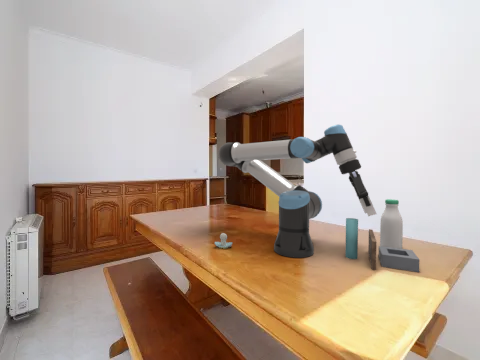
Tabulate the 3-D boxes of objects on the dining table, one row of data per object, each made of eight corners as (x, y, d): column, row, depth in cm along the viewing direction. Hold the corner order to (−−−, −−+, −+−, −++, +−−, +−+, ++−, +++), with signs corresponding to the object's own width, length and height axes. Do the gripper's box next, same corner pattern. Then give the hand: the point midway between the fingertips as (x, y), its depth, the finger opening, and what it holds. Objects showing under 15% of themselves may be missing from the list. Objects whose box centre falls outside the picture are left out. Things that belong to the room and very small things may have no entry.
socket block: (381, 266, 76) (381, 254, 76) (378, 256, 85) (378, 246, 85) (419, 272, 72) (419, 259, 72) (411, 261, 81) (412, 250, 81)
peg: (345, 258, 84) (345, 219, 83) (345, 254, 87) (346, 217, 87) (357, 259, 82) (358, 220, 82) (357, 256, 86) (358, 218, 85)
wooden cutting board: (371, 269, 74) (372, 241, 74) (368, 252, 90) (368, 229, 90) (375, 269, 73) (376, 241, 73) (371, 252, 90) (372, 229, 89)
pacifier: (216, 245, 99) (213, 249, 93) (216, 230, 99) (213, 233, 93) (233, 245, 99) (231, 249, 93) (233, 230, 99) (232, 234, 93)
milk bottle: (406, 251, 91) (407, 201, 90) (384, 250, 92) (385, 200, 92) (396, 245, 98) (397, 199, 98) (377, 244, 100) (377, 198, 99)
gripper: (359, 153, 79) (386, 212, 74) (355, 162, 101) (376, 208, 97) (337, 161, 81) (362, 219, 77) (338, 168, 104) (358, 214, 100)
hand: (370, 213), depth 87 cm, fingers open, 13 cm apart
